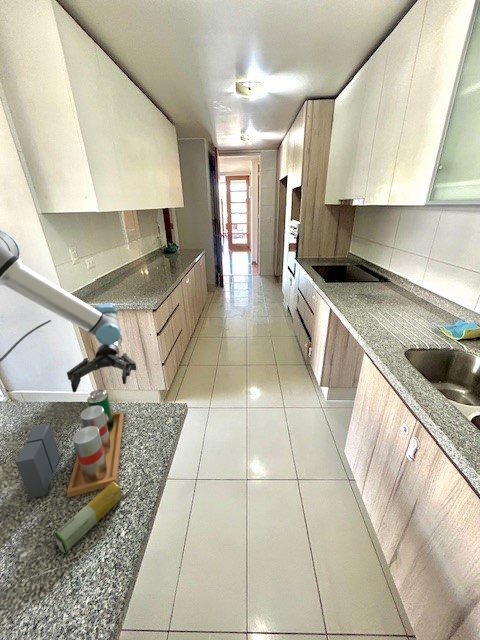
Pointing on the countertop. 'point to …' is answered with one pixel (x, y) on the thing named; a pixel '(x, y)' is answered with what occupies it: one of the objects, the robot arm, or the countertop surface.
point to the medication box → (87, 517)
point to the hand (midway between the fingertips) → (99, 384)
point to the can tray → (112, 460)
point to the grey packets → (38, 460)
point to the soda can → (102, 400)
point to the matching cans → (92, 444)
